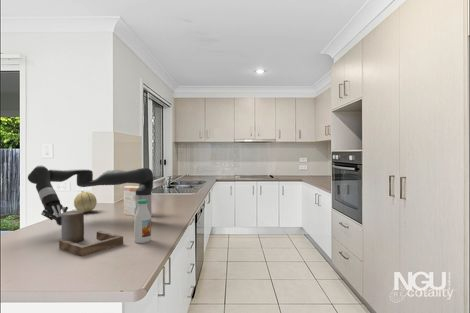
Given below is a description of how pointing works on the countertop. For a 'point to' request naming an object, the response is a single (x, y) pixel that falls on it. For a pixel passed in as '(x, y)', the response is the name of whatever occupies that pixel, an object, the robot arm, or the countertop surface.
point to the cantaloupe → (85, 201)
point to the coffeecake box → (130, 200)
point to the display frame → (107, 242)
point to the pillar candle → (73, 226)
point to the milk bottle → (142, 223)
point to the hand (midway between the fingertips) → (61, 224)
